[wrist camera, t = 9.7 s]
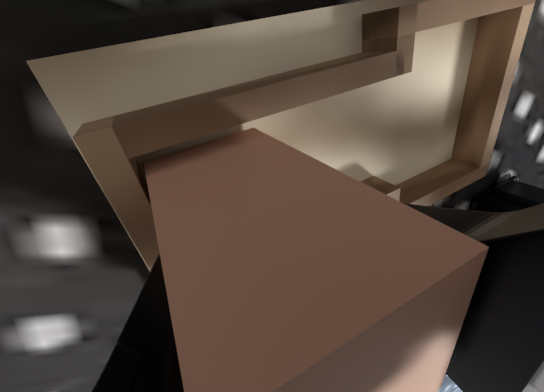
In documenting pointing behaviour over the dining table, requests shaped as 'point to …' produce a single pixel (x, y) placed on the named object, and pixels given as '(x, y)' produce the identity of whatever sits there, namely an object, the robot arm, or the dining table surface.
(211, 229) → the peg
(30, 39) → the dining table surface
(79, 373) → the dining table surface
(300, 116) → the beige shallow tray
